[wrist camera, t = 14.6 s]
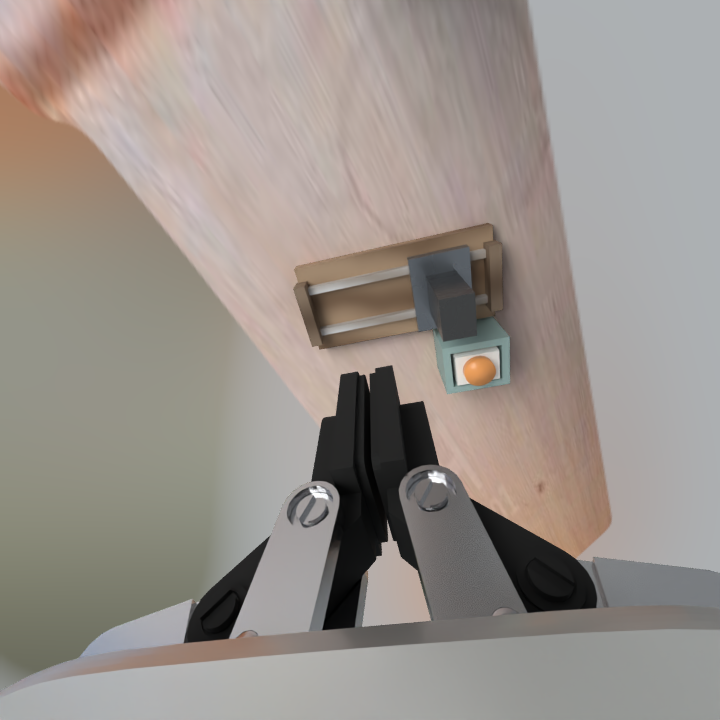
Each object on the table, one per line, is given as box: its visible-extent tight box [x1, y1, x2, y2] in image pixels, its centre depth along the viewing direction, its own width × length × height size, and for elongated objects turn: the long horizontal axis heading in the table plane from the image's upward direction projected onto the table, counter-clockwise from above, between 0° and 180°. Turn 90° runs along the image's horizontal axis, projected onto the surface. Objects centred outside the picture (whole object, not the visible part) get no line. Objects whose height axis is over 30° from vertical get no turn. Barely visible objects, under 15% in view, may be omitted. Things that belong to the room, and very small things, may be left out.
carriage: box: [407, 244, 477, 342], centre depth 33 cm, size 8×6×8 cm
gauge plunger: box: [450, 346, 500, 386], centre depth 38 cm, size 4×5×6 cm
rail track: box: [293, 223, 503, 349], centre depth 37 cm, size 10×21×4 cm, turn 103°
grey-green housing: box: [433, 316, 510, 394], centre depth 40 cm, size 6×7×6 cm
